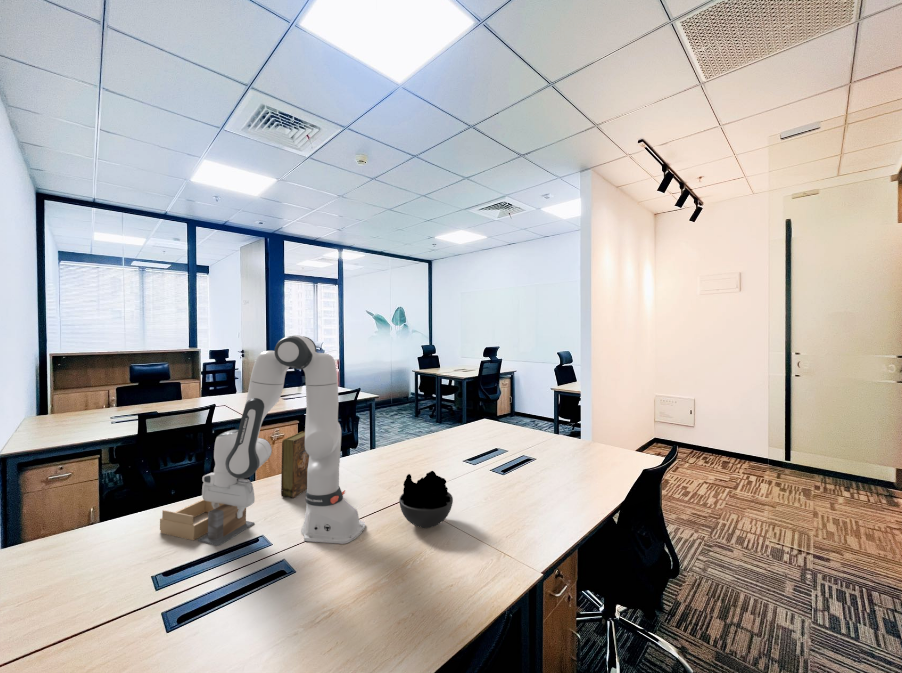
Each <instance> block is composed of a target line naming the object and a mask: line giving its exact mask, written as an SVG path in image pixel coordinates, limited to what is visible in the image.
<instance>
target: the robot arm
mask: <svg viewBox="0 0 902 673" xmlns="http://www.w3.org/2000/svg"><path fill="white" fill-rule="evenodd" d="M317 351H318V350H317V345H316V343H315V341H314V340H313V339H311V338H310V337H307V336H302V335H296V334H295V335H288V336H285V337H283V338H281V339H280V340H278V341H277V343H276V344H275V347H274V350H264V351H262V352H260V353H258V355H257V356H256V359H255V361H254V364H253V367H252V370H251V375H250V380H249V383H248V384H249V385H248V391H247V396H246V399H245V400H246V401H245V404H244V409H243V411H242V415H241V419H240V423H239V426H238V429H231V430H227V431H224V432H222V433H220V434H218V435H217V436H216V438H215V442H214V448H213V449H214V450H213V459H214V464H215V465H214V468H213V472H210V473H207V474H204V475H203V476H202V479H201V480H202V482H203V483H202V489H201V497H202V499H204V501H209V502H212V503H211V505H212V507H213V509H216V508H218V507H220V506H219V503H221V504H226V505H232V506H237V509H239V510H238V512H237V513H235V518H241V517H242V516H243V511H244V509H245V508H246V509H247V508H249V507H250V506H253V504H254V503H255V490H254V486H253V485H254V484H253V482H252V481H251V480H250V479H248V478H250V477H251V476H253V475H254V474H255V473H256V471H258V469H259V468H260V467H261V466H262V465H264V464H265V463H266V462H267V461H268V460H269V459H270V457H271V455H272V452H273V448H272V444H271V443H270V442H269V441H268V440H267V439H265V438H262V437H260V436H259V435H260V432H261V427H262V424H263V422H264V419H265V417H266V416H267V414H268V413H269V412H270V411H271V410H272V409H273V408H274V407H275V405H277V403H278V402H279V401H280V398H281V396H282V393H283V390H284V385H285V378H286V374H287V371H288V370H289V368H293V369H297V370H303V372H304V376H305V396H306V398H305V399H306V401H305V402H306V411H305V412H306V413H305V425H304V427H305V428H304V431H305V450H306V452H307V453H308V455H309V463H308V469H307V489H306V490H305V503H306V506H305V514H304V515H305V516H304V518H303V519H304V521H303V524H302V527H301V534H302V535H303V541H305V542H311V543H312V542H314V543H315V542H316V543H328V544H340V545H341V544H343V545H344V544H348V543H350V542H352V541H354V540H355V539H356V538H358V537H359V536H360V535H361V534H362V533H363V532H364V531H363V530H365V529H366V523H365V521H362V520H360V517H359V512H358V510H357V508H355V507H354V506H353V505H351V503H350V502H348V501H347V499H345V498H344V495H345V494H346V490H343V491H342V489H341V487H340V463H341V460H340V459H341V446H342V427H341V425H340V422H339V385H338V382H339V381H338V380H339V379H338V372H337V366H336V362H335V359H334V357H333V356H332V355H331V354H329V353H325V352H317ZM364 528H365V529H364ZM362 531H363V532H362Z"/></svg>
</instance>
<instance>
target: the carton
mask: <svg viewBox="0 0 902 673" xmlns="http://www.w3.org/2000/svg"><path fill="white" fill-rule="evenodd" d="M211 503H212V502H209V501H204V499H203V498H202V499H200V500H198V501H196V502H194V503H192V504H190V505H188V506H185V507H182V508H181V509H178V510H176V511H169V510H165V509H162V512H161V513H162V517H160V519H159V531H160V534H163V535H168V536H173V537H176V538H181V539H185V540H190V541H195V540H198V539H200V538H201V537H203V536H205V535H207V534H208V517H206V518H204V519H202V520H200V521H198V522H196V523H194V519H195V518H197V517H198V516H200V515H202V514H204V513H208V512H210V511H212V510H214V509H213V507H212V505H211ZM222 505H224V504H221V503H219V506H222Z"/></svg>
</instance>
